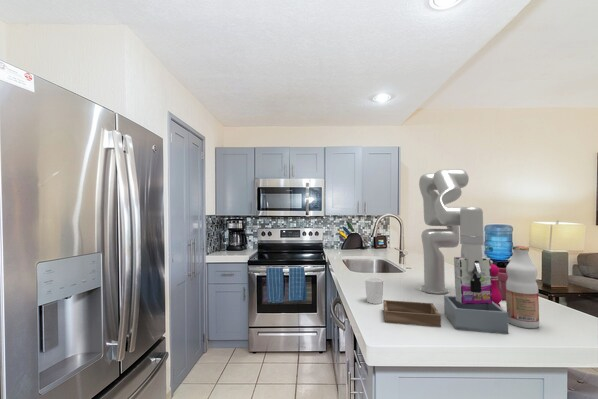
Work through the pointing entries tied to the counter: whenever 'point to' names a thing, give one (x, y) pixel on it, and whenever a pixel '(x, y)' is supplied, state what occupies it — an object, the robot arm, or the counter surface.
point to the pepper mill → (495, 284)
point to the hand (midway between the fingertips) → (472, 289)
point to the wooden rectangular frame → (411, 313)
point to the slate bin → (476, 316)
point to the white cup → (374, 290)
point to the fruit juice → (522, 290)
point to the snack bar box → (464, 283)
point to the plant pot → (502, 282)
